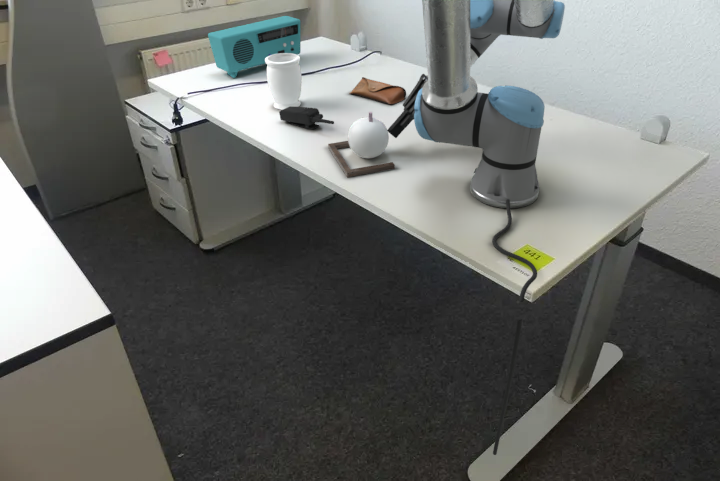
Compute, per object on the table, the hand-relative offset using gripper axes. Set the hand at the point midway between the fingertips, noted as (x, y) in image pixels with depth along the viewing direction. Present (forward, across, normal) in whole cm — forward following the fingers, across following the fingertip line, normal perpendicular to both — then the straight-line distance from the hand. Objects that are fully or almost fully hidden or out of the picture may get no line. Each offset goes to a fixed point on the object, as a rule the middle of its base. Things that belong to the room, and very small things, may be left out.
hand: (391, 134), depth 141 cm
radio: (+19, +84, +11) cm, 86 cm away
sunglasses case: (-3, +40, -11) cm, 41 cm away
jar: (+18, +42, +10) cm, 47 cm away
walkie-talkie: (+15, +24, +8) cm, 29 cm away
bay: (+9, 0, +2) cm, 10 cm away
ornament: (+8, 0, +1) cm, 8 cm away
